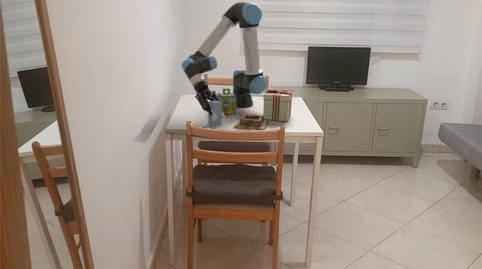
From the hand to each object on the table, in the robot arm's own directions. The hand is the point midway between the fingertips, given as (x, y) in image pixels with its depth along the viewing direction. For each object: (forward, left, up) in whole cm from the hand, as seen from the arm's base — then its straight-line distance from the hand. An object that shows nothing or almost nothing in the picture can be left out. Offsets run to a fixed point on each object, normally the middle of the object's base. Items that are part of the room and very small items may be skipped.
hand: (219, 118), depth 238 cm
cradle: (+10, +15, -4) cm, 19 cm away
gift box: (+8, +39, -5) cm, 40 cm away
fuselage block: (-4, 0, -4) cm, 6 cm away
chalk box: (-18, +23, -5) cm, 29 cm away
